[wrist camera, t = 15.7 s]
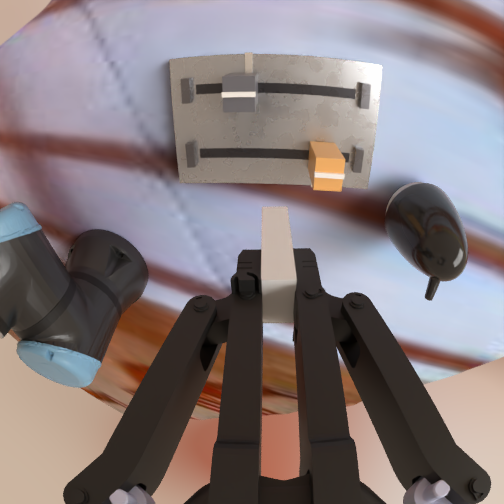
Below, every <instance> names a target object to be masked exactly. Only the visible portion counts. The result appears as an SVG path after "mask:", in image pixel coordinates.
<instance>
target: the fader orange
mask: <svg viewBox="0 0 504 504" xmlns="http://www.w3.org/2000/svg"><path fill="white" fill-rule="evenodd" d="M344 167H345V158H344V157H343V155H342V153H341V152H340V150H339V149H338V147H337V145H336V144H335V143H330V142H316V141H310V146H309V161H308V171H309V175H310V179H311V183H312V187H313V190H325V191H341V190H342V183H343V179H344V177H345V174H344Z"/></svg>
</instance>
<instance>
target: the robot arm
mask: <svg viewBox="0 0 504 504" xmlns="http://www.w3.org/2000/svg"><path fill="white" fill-rule="evenodd" d="M41 228H42V227H41V225H40V224H38V223H37V221H36V220H35V218H34V217H33V215H32V213H31V212H30V210H29V209H28V207H27V206H26V205H25V204H23V203H21V202H14V203H11V204H9V205H7V206H5V207H3V208H1V209H0V338H4V336H5V335H6V334H7V333H8V332H9V330H10V329H12V330H13V331H14V332H15V333H16V334H17V336H18V337H19V338H20V340H21V341H19V342H18V344H17V354H18V355H19V358H20V359H21V360H22V361H23V362H24V363H25V364H26V365H27V366H28V367H30V368H31V369H32V370H34V371H35V372H37V373H38V374H40V375H42V376H44V377H45V378H47V379H50V380H52V381H54V382H56V383H59V384H62V385H66V386H70V387H78V388H80V387H85V386H88V385H89V384H90V383H91V382H92V381H93V379H94V377H95V375H96V373H97V371H98V368H100V367H101V363H102V361H103V358H104V355H105V353H106V350H107V348H108V345H109V343H110V341H111V338H112V336H113V333H114V331H115V329H116V326H117V324H118V322H119V319H120V317H121V315H122V314H123V313H124V312H125V311H126V310H127V309H128V308H129V307H130V306H131V304H132V303H134V302H136V301H137V300H138V299H139V298H140V297H141V295H142V294H143V292H144V289H145V287H146V285H147V282H148V269H147V266H146V263H145V261H144V259H143V257H142V256H141V254H140V253H139V252H138V250H137V249H136V248H135V247H134V246H133V245H132V244H131V243H129V242H128V241H127V240H125V239H124V238H122V237H121V236H119V235H117V234H115V233H112V232H109V231H105V230H90V231H87V232H85V233H83V234H82V235H80V236H79V237H78V239H77V240H76V241H75V242H74V244H73V245H72V247H71V248H70V251H69V254H68V259H67V262H66V265H65V266H64V265H63V263H62V262H61V260H60V259H59V257H58V256H57V254H56V253H55V251H54V249H53V248H52V246H51V245H50V243H49V241H48V240H47V238H46V236H45V235H44V233H43V231H42V229H41ZM231 289H232V294H230V295H229V296H228V297H226V298H223V299H220V300H216V301H215V300H214V299H213V298H212V297H209V296H207V295H199V296H195V297H193V298H192V299H190V300H189V301H188V302H187V304H186V306H185V307H184V309H183V311H182V312H181V314H180V316H179V318H178V319H177V321H176V323H175V324H174V326H173V328H172V330H171V331H170V333H169V335H168V336H167V338H166V340H165V342H164V343H163V345H162V347H161V349H160V350H159V352H158V354H157V356H156V357H155V359H154V361H153V363H152V364H151V366H150V368H149V370H148V371H147V373H146V375H145V377H144V378H143V380H142V382H141V384H140V386H139V387H138V389H137V391H136V393H135V394H134V396H133V398H132V400H131V402H130V403H129V405H128V407H127V409H126V411H125V413H124V414H123V416H122V418H121V420H120V422H119V424H118V425H117V427H116V429H115V431H114V433H113V435H112V436H111V438H110V440H109V442H108V444H107V446H106V448H105V450H104V451H103V453H102V454H101V455H100V456H99V457H98V458H97V459H95V460H94V461H93V462H92V463H91V464H90V465H89V466H88V467H86V468H85V469H84V470H83V471H82V472H81V473H79V474H78V475H77V476H76V477H75V478H74V479H72V480H71V481H70V482H69V483H68V484H67V486H66V487H65V489H64V493H63V497H64V501H65V503H66V504H155V502H154V500H153V498H152V497H151V496H152V495H153V493H154V492H155V491H156V489H157V488H158V486H159V485H160V483H161V481H162V479H163V477H164V475H165V473H166V471H167V469H168V467H169V464H170V462H171V460H172V458H173V455H174V453H175V451H176V449H177V446H178V444H179V442H180V440H181V437H182V435H183V433H184V430H185V428H186V426H187V424H188V421H189V419H190V417H191V415H192V412H193V410H194V408H195V405H196V403H197V401H198V399H199V396H200V394H201V392H202V389H203V387H204V385H205V383H206V380H207V378H208V376H209V373H210V371H211V369H212V367H213V364H214V362H215V360H216V357H217V355H218V353H219V350H220V348H221V346H222V343H225V342H227V346H226V355H225V365H224V374H223V384H222V394H221V404H220V414H219V425H218V436H217V441H216V442H215V444H214V448H213V456H212V467H211V478H210V483H209V484H207V485H205V486H203V487H202V488H201V489H199V490H198V491H197V492H196V493H195V494H194V495H193V496H191V498H189V499H188V500H187V501H186V502H185V503H184V504H386V503H385V502H384V501H383V500H382V499H381V498H379V497H378V496H377V495H376V494H375V493H374V492H373V491H372V490H371V489H370V488H369V487H368V486H366V485H365V484H364V483H362V482H361V481H360V479H359V470H358V460H357V452H356V446H355V442H354V440H353V439H352V438H351V437H350V434H349V427H348V420H347V412H346V405H345V398H344V391H343V385H342V378H341V372H340V366H339V360H338V354H337V349H338V351H339V353H340V355H341V357H342V359H343V361H344V363H345V365H346V367H347V370H348V372H349V374H350V376H351V378H352V380H353V382H354V384H355V386H356V389H357V391H358V393H359V395H360V397H361V399H362V401H363V403H364V406H365V408H366V410H367V412H368V414H369V417H370V419H371V421H372V423H373V425H374V427H375V430H376V432H377V434H378V436H379V439H380V441H381V443H382V445H383V447H384V449H385V452H386V454H387V457H388V459H389V461H390V463H391V466H392V468H393V470H394V472H395V474H396V476H397V478H398V480H399V481H400V483H401V484H402V486H403V487H404V488H405V489H406V493H405V495H404V499H403V504H476V503H479V502H481V501H483V500H484V498H486V497H487V495H488V493H489V491H490V488H491V480H490V476H489V475H488V474H487V472H486V471H485V470H484V469H482V468H481V467H480V466H479V465H478V464H477V463H476V462H475V461H474V460H473V459H472V458H470V457H469V456H468V455H467V454H466V453H465V452H464V451H463V450H462V449H461V448H459V447H458V446H457V445H456V443H455V442H454V440H453V438H452V436H451V434H450V432H449V430H448V428H447V426H446V424H445V423H444V421H443V419H442V417H441V415H440V414H439V412H438V410H437V408H436V406H435V404H434V403H433V401H432V399H431V397H430V396H429V394H428V392H427V390H426V389H425V387H424V385H423V383H422V382H421V380H420V378H419V377H418V375H417V373H416V372H415V370H414V368H413V367H412V365H411V363H410V362H409V360H408V358H407V357H406V355H405V353H404V352H403V350H402V348H401V347H400V345H399V344H398V342H397V340H396V339H395V337H394V336H393V334H392V333H391V331H390V329H389V328H388V326H387V325H386V323H385V322H384V320H383V318H382V317H381V315H380V314H379V312H378V311H377V309H376V308H375V306H374V305H373V303H372V302H371V300H370V299H369V298H368V297H367V296H366V295H364V294H362V293H357V292H354V293H349V294H347V295H346V296H345V297H344V298H339V297H334V296H331V295H329V294H328V293H326V292H325V290H324V288H322V285H321V280H320V276H319V271H318V267H317V262H316V257H315V254H314V253H313V251H312V250H311V249H310V248H301V249H293V245H292V238H291V230H290V223H289V216H288V208H287V207H262V245H261V250H242V252H241V253H240V254H239V256H238V264H237V272H236V273H235V274H234V275H233V276H232V278H231ZM293 321H294V332H293V341H294V346H295V361H296V377H297V395H298V414H299V437H300V471H299V472H300V473H299V477H297V478H293V479H289V480H278V479H273V478H268V477H264V476H261V431H262V362H263V323H293ZM336 347H337V348H336Z"/></svg>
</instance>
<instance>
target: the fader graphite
mask: <svg viewBox="0 0 504 504" xmlns="http://www.w3.org/2000/svg"><path fill="white" fill-rule="evenodd" d="M222 89H223V92H222V98H223V112H255V111H256V107H257V104H258V73H229V74H227V75H225V76H222Z"/></svg>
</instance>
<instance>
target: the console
mask: <svg viewBox="0 0 504 504" xmlns="http://www.w3.org/2000/svg"><path fill="white" fill-rule="evenodd" d="M169 63H170V80H171V95H172V108H173V120H174V132H175V142H176V152H177V162H178V171H179V180H180V183H264V184H293V185H311V187H312V183H311V179H310V175H309V171H308V161H309V146H310V141H316V142H330V143H335V144H336V145H337V147H338V149H339V150H340V152H341V153H342V155H343V157H344V158H345V167H344V174H345V177H344V179H343V183H342V187H347V188H360V189H367V188H368V182H369V176H370V170H371V163H372V157H373V150H374V142H375V135H376V127H377V118H378V109H379V99H380V88H381V76H382V65H376V64H370V63H364V62H357V61H350V60H342V59H334V58H324V57H313V56H299V55H277V54H252V53H245V54H236V55H213V56H199V57H188V58H178V59H170V60H169ZM229 73H258V104H257V107H256V111H255V112H223V98H222V92H223V89H222V76H225V75H227V74H229Z"/></svg>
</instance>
